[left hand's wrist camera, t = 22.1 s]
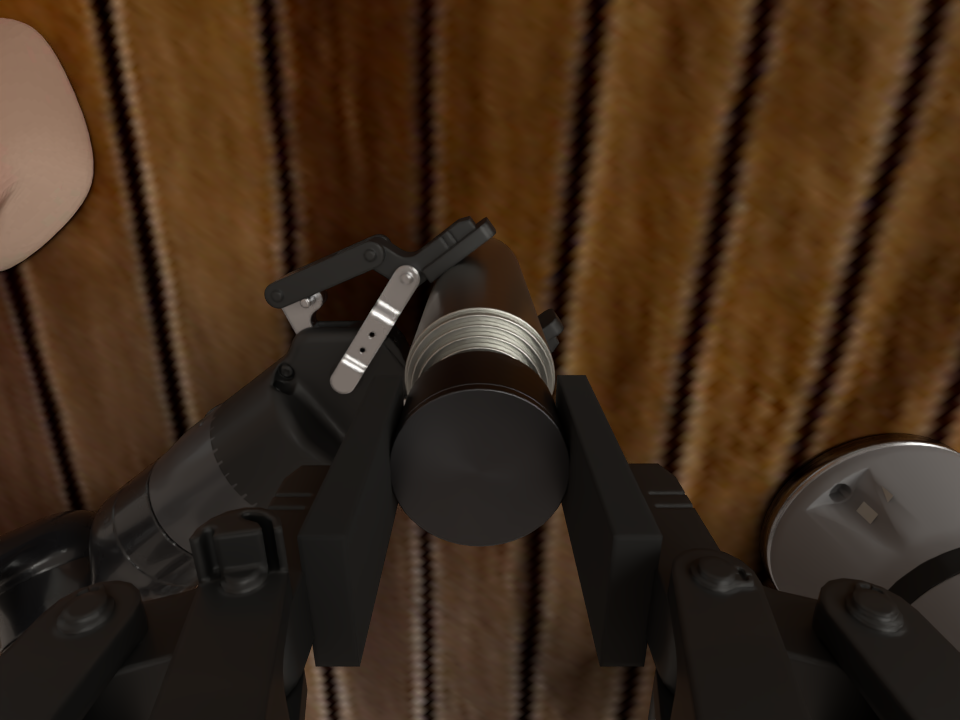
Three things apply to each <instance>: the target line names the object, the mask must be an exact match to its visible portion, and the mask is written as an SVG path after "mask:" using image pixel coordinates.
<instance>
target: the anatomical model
mask: <svg viewBox="0 0 960 720" xmlns="http://www.w3.org/2000/svg"><path fill="white" fill-rule="evenodd" d="M93 165H94V161H93V153H92V147H91V142H90V137H89V133H88V129H87V126H86V123H85V120H84V116H83V114H82V111H81V108H80V106H79V103H78V101H77V98H76V96H75V93H74V91H73V89H72V87H71V84H70V82H69V80H68V78H67V76H66V73H65V71H64V70H63V68H62V66H61V64H60V62H59V60H58V58H57V56H56V55H55V53H54V52H53V50H52V48H51V47H50V45H49V44H48V43H47V42H46V40H45V39H44V38H43V37H42V36H41V35H40V34H39V33H38V32H37V31H36V30H35V29H33V28H32V27H30V26H29V25H27V24H25V23H22V22H19V21H16V20H12V19H5V18H0V271H4V270H6V269H9V268H11V267H13V266H14V265H16V264H18V263H20V262H22V261H23V260H25V259H26V258H27V257H29V256H30V255H31V254H33V253H34V252H35V251H37V250H38V249H39V248H41V247H42V246H43V245H44V244H45V243H46V242H48V241H49V240H50V239H51V238H52V237H53V236H54V235H55V234H56V233H57V232H58V231H59V230H60V229H61V228H62V227H63V226H64V225H65V224H66V223H67V222H68V221H69V220H70V218H71V217H72V216H73V215H74V214H75V212H76V211H77V210H78V209H79V207H80V206H81V205H82V203H83V201H84V200H85V198H86V196H87V194H88V192H89V190H90V187H91V184H92V179H93Z"/></svg>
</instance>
